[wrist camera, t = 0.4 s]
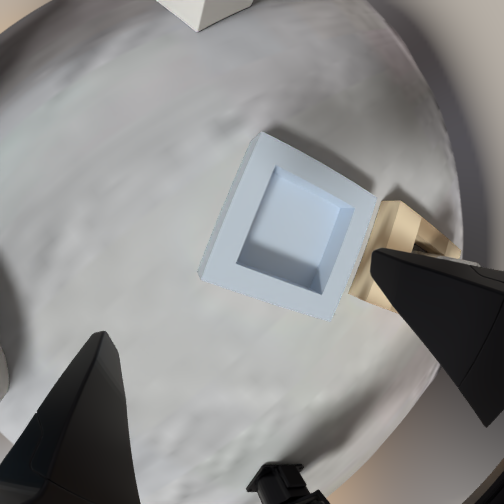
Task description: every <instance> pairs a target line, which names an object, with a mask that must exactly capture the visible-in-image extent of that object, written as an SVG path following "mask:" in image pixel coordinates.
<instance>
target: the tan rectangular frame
mask: <svg viewBox="0 0 504 504" xmlns="http://www.w3.org/2000/svg"><path fill="white" fill-rule="evenodd" d="M414 243H415V244H417V245H418V246H420V247H421V248H422V249H424V250H425V251H427V253H431V254H436V255H441V256H446V257H451V258H456V259H459V258H460V254H461V250H460V249H459V248H458V247H457V246H456V245H454V244H453V243H452V242H451V241H450V240H449V239H448V238H447V237H445V236H444V235H443V234H442V233H441V232H440V231H438V230H437V229H436V228H435V227H434V226H432V225H431V224H430V223H429V222H428V221H426V220H425V219H424V218H423V217H421V216H420V215H419V214H418V213H416V212H415V211H414V210H412V209H411V208H410V207H409V206H407V205H406V204H405V203H403V202H402V201H381V204H380V208H379V211H378V214H377V217H376V220H375V223H374V226H373V229H372V232H371V235H370V238H369V241H368V243H367V246H366V249H365V252H364V255H363V257H362V260H361V263H360V265H359V268H358V270H357V273H356V276H355V278H354V281H353V283H352V286H351V288H350V291H349V293H348V294H351V295H353V296H355V297H357V298H359V299H361V300H364V301H366V302H368V303H371V304H374V305H376V306H379V307H382V308H384V309H387V310H390V311H392V312H395V313H398V312H397V311H396V310H395V308H394V307H393V306H392V305H391V303H390V302H389V300H388V299H387V298H386V296H385V295H384V293H383V292H382V291H381V289H380V288H379V287H378V285H377V284H376V282H375V281H374V280H373V278H372V277H371V274H370V264H371V254H372V252H373V251H374V250H376V249H379V248H388V249H393V250H399V251H404V252H409V253H411V252H412V249H413V246H414ZM398 314H399V313H398Z"/></svg>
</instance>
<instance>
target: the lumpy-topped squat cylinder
mask: <svg viewBox="0 0 504 504" xmlns="http://www.w3.org/2000/svg"><path fill="white" fill-rule="evenodd" d="M8 388H9V373H8V367H7V362H6V358H5V355H4V352H3V350H2V347H1V345H0V402H1V400H2V399H3V398H4V396H5V395H6V393H7V392H8Z"/></svg>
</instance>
